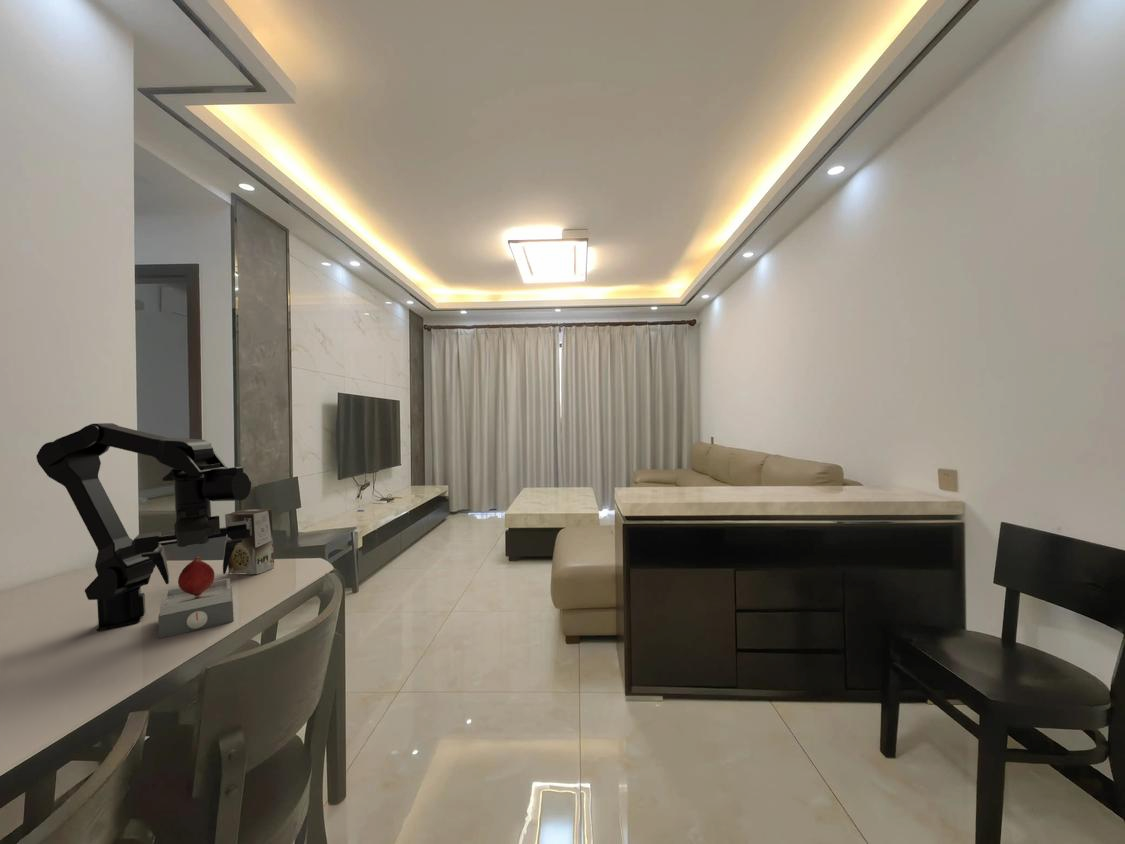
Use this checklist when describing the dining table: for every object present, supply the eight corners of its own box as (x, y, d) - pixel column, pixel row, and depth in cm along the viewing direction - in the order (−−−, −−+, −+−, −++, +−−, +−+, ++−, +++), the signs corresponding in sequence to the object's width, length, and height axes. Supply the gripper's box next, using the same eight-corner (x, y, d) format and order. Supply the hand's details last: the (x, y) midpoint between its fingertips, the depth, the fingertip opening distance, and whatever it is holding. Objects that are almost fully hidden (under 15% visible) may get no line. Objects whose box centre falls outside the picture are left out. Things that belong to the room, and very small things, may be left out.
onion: (184, 604, 94) (183, 563, 94) (174, 596, 97) (173, 557, 97) (219, 594, 99) (218, 556, 98) (208, 588, 102) (207, 550, 102)
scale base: (158, 639, 90) (157, 618, 90) (165, 618, 100) (164, 599, 99) (233, 622, 96) (232, 602, 96) (232, 603, 106) (231, 585, 106)
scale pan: (160, 616, 90) (159, 606, 90) (165, 598, 99) (165, 590, 99) (231, 601, 97) (230, 592, 97) (230, 586, 106) (229, 578, 106)
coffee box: (275, 567, 132) (273, 508, 132) (256, 575, 126) (253, 513, 125) (247, 566, 134) (244, 508, 133) (226, 574, 127) (223, 513, 127)
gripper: (124, 515, 86) (129, 602, 86) (249, 501, 96) (253, 578, 97) (134, 506, 95) (138, 585, 95) (247, 494, 106) (250, 565, 106)
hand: (196, 578), depth 98 cm, fingers open, 9 cm apart
